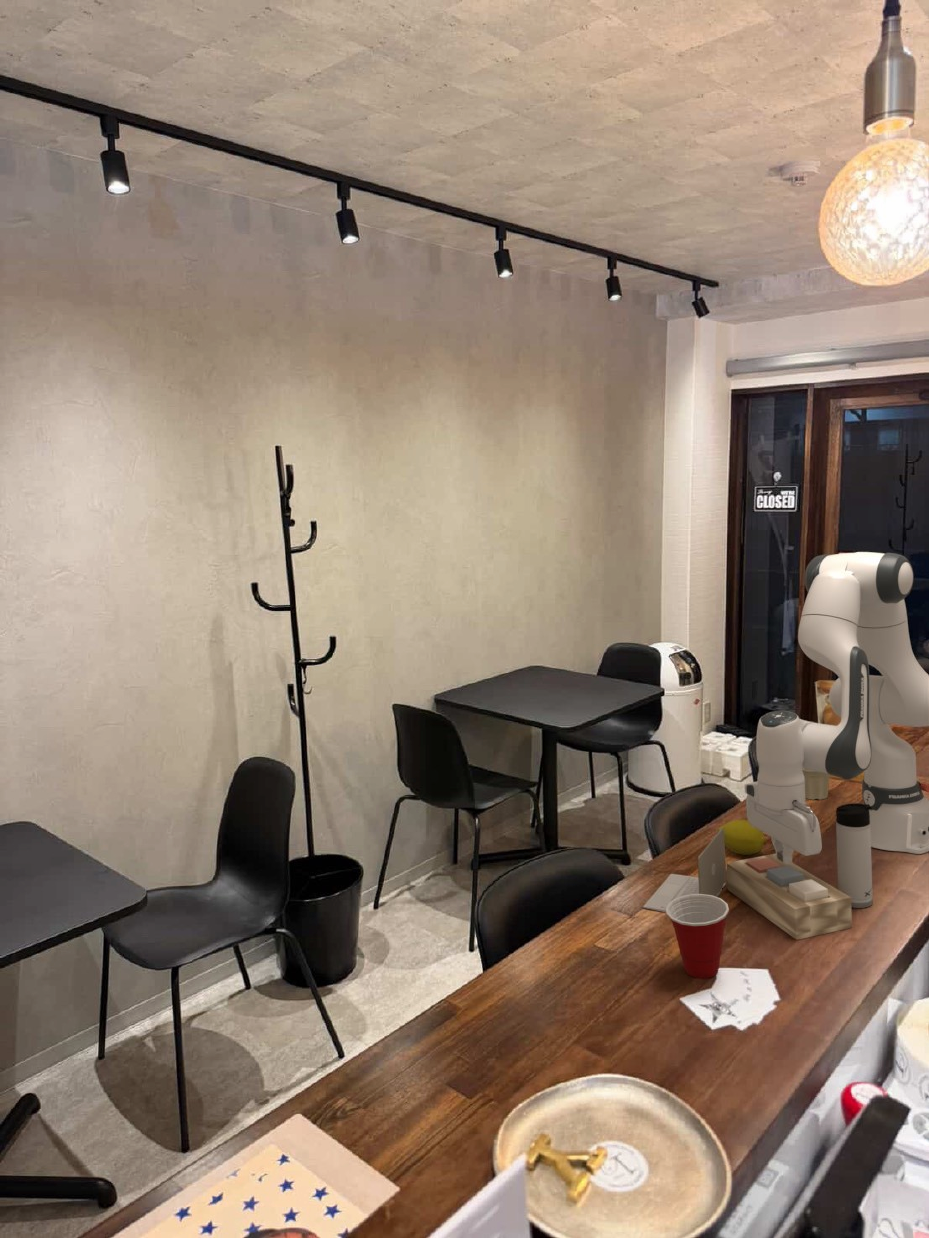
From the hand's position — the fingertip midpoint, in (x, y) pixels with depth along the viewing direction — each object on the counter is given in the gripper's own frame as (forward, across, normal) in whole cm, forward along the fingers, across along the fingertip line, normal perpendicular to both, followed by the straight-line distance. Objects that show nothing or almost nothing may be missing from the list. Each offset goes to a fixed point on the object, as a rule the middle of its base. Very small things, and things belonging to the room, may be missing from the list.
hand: (784, 861), depth 176 cm
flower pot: (+10, +54, -46) cm, 71 cm away
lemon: (+10, +28, -8) cm, 31 cm away
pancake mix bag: (+10, +63, -64) cm, 90 cm away
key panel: (+10, 0, 0) cm, 10 cm away
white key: (+5, -7, 0) cm, 9 cm away
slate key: (+5, 0, 0) cm, 5 cm away
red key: (+6, +8, 0) cm, 10 cm away
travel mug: (+10, -3, -14) cm, 17 cm away
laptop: (+10, +13, +15) cm, 23 cm away
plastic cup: (+10, -15, +27) cm, 33 cm away
